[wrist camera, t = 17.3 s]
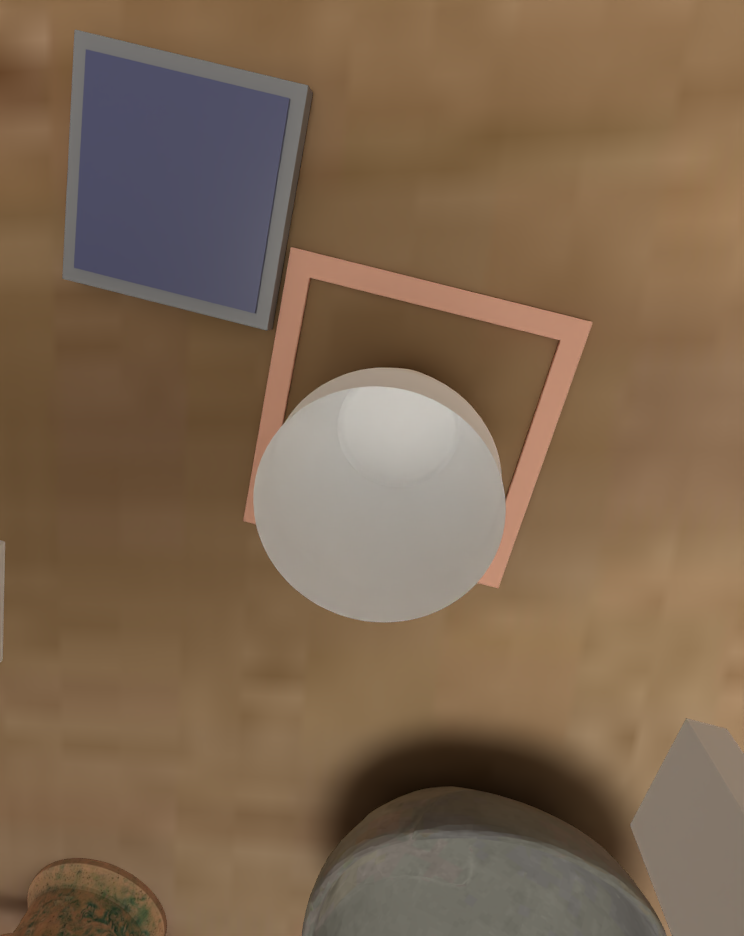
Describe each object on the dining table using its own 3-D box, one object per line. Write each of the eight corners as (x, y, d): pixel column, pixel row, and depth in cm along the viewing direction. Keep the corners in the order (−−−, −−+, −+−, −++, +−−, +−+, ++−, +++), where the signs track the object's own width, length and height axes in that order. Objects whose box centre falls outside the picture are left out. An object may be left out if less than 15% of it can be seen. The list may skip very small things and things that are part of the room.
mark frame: (244, 519, 33) (243, 521, 33) (292, 247, 28) (290, 247, 28) (497, 585, 33) (498, 588, 32) (591, 321, 28) (592, 322, 27)
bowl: (268, 853, 41) (231, 980, 34) (436, 669, 35) (436, 774, 27) (497, 990, 43) (510, 1139, 36) (696, 839, 37) (764, 982, 29)
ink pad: (74, 279, 30) (60, 278, 29) (87, 38, 26) (71, 27, 25) (272, 329, 29) (265, 330, 28) (312, 93, 26) (307, 84, 25)
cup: (335, 325, 29) (272, 349, 18) (504, 368, 29) (549, 420, 17) (302, 483, 32) (230, 590, 21) (455, 523, 32) (466, 654, 20)
